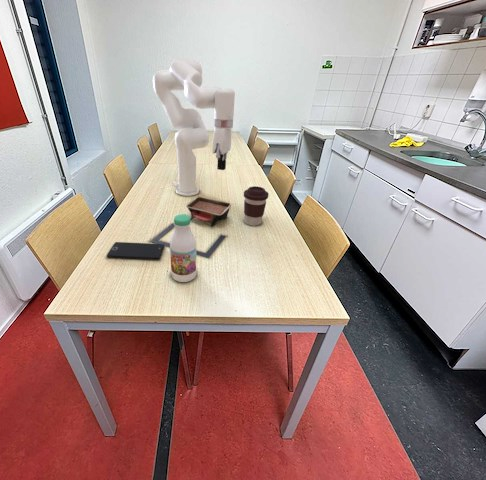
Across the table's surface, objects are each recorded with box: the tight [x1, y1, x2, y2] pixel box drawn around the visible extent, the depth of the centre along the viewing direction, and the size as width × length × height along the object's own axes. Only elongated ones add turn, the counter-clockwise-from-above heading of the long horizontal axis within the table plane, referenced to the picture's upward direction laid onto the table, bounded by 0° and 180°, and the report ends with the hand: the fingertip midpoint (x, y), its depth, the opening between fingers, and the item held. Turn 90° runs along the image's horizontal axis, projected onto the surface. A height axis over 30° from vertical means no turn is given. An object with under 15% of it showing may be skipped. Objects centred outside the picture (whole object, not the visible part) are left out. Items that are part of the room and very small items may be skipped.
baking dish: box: [185, 196, 232, 227], centre depth 116 cm, size 14×18×10 cm
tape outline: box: [149, 222, 226, 258], centre depth 103 cm, size 24×16×1 cm
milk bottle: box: [169, 213, 197, 283], centre depth 79 cm, size 8×8×20 cm
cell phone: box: [106, 241, 165, 261], centre depth 94 cm, size 9×18×1 cm, turn 87°
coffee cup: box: [243, 185, 270, 227], centre depth 113 cm, size 10×10×15 cm
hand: (221, 169), depth 118 cm, fingers closed
